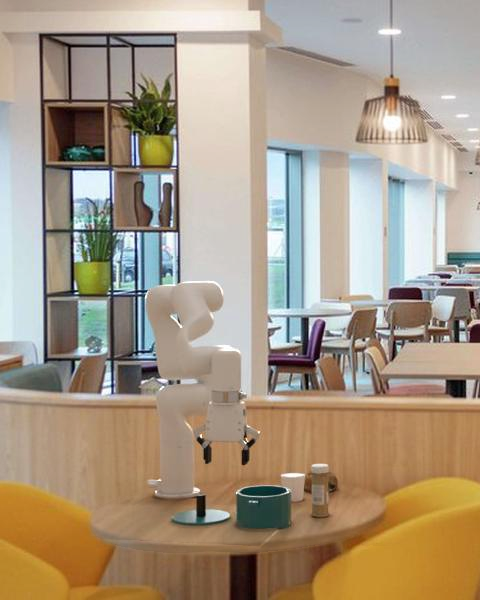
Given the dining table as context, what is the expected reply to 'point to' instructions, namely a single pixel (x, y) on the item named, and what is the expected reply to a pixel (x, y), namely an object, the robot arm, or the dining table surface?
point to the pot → (263, 507)
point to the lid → (201, 514)
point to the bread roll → (331, 481)
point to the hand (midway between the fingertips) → (226, 463)
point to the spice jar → (320, 490)
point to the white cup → (294, 485)
